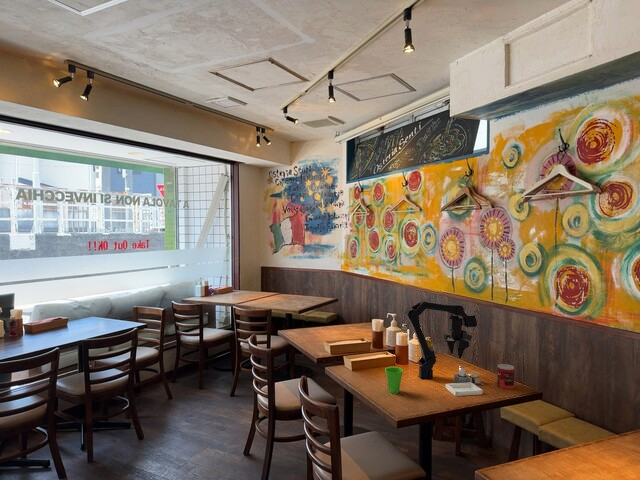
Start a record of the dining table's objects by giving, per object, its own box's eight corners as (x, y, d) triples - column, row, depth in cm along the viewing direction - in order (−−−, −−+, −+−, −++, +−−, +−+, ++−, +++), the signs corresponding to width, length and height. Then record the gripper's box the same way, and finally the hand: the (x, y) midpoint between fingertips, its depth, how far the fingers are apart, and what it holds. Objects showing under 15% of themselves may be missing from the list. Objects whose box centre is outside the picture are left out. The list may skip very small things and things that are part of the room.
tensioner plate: (460, 387, 209) (460, 377, 209) (452, 381, 218) (452, 372, 218) (484, 385, 211) (484, 376, 211) (475, 379, 220) (475, 370, 220)
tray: (455, 397, 196) (455, 391, 196) (445, 388, 207) (445, 383, 207) (483, 395, 198) (483, 390, 198) (471, 387, 209) (471, 382, 209)
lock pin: (460, 383, 212) (460, 367, 212) (458, 381, 215) (458, 365, 215) (466, 383, 213) (466, 366, 213) (463, 381, 216) (463, 365, 216)
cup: (392, 396, 197) (392, 373, 197) (381, 390, 205) (381, 368, 205) (407, 393, 201) (407, 370, 201) (395, 387, 209) (395, 365, 209)
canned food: (500, 383, 214) (500, 362, 214) (516, 387, 208) (516, 366, 208) (494, 387, 208) (494, 366, 208) (511, 391, 203) (511, 369, 203)
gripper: (479, 331, 215) (478, 360, 215) (461, 323, 233) (461, 351, 233) (459, 331, 213) (458, 361, 213) (443, 323, 232) (442, 351, 232)
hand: (455, 355), depth 223 cm, fingers open, 9 cm apart
